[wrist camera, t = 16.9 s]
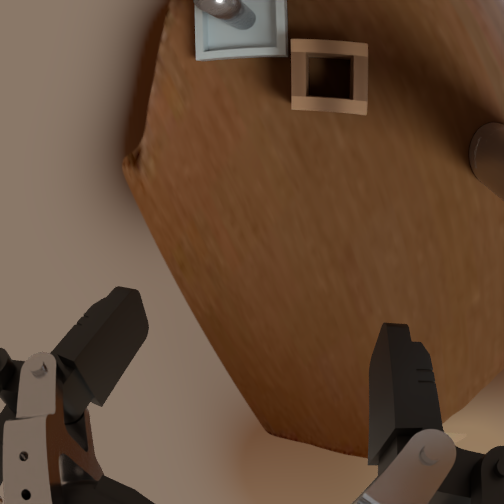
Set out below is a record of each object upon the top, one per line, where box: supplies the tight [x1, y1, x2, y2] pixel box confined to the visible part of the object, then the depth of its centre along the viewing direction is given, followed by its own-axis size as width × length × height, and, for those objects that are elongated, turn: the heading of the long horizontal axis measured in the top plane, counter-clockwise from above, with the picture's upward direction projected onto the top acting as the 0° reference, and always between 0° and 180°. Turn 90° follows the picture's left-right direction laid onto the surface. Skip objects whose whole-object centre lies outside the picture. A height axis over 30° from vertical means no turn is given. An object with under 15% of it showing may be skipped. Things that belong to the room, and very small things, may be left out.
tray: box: [195, 0, 288, 61], centre depth 30 cm, size 11×11×2 cm
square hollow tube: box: [291, 39, 368, 115], centre depth 30 cm, size 8×8×6 cm
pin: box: [193, 0, 256, 30], centre depth 26 cm, size 3×3×12 cm
